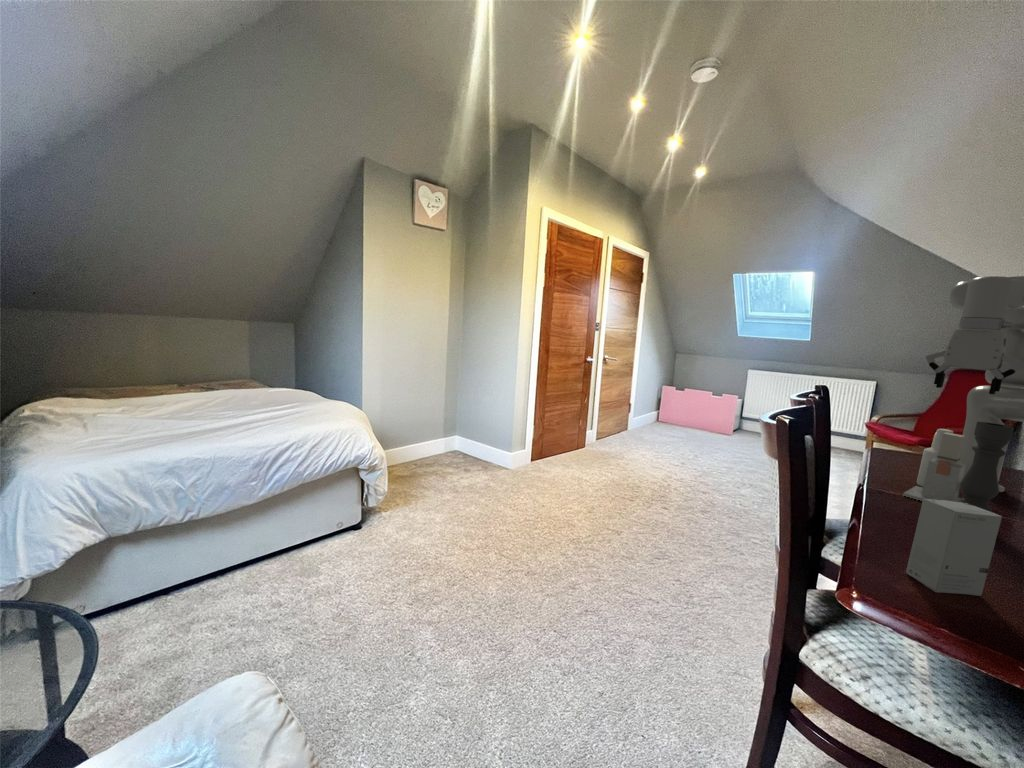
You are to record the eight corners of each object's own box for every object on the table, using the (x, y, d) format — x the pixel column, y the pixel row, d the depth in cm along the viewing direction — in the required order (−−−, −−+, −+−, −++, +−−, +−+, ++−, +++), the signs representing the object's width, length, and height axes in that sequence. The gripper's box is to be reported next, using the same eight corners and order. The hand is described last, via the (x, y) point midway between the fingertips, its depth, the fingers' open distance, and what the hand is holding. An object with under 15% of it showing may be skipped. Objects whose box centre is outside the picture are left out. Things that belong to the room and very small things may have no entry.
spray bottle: (946, 493, 120) (961, 434, 117) (914, 485, 125) (927, 428, 122) (948, 488, 124) (962, 431, 121) (917, 481, 129) (930, 425, 126)
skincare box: (935, 593, 70) (955, 512, 68) (902, 572, 76) (920, 497, 74) (984, 597, 70) (1006, 515, 68) (947, 575, 76) (966, 500, 74)
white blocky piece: (915, 489, 122) (923, 451, 120) (974, 505, 112) (985, 464, 110) (902, 496, 115) (911, 456, 113) (964, 514, 105) (975, 470, 103)
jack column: (931, 491, 116) (945, 432, 113) (950, 497, 113) (965, 435, 110) (928, 494, 114) (942, 433, 111) (947, 499, 111) (962, 437, 108)
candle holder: (997, 532, 96) (1024, 429, 92) (970, 530, 96) (996, 427, 92) (968, 519, 102) (993, 422, 98) (943, 517, 102) (967, 420, 98)
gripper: (1035, 328, 101) (1017, 396, 104) (937, 325, 115) (923, 384, 118) (1031, 326, 97) (1012, 397, 99) (930, 323, 111) (916, 385, 114)
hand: (964, 390), depth 109 cm, fingers open, 9 cm apart
